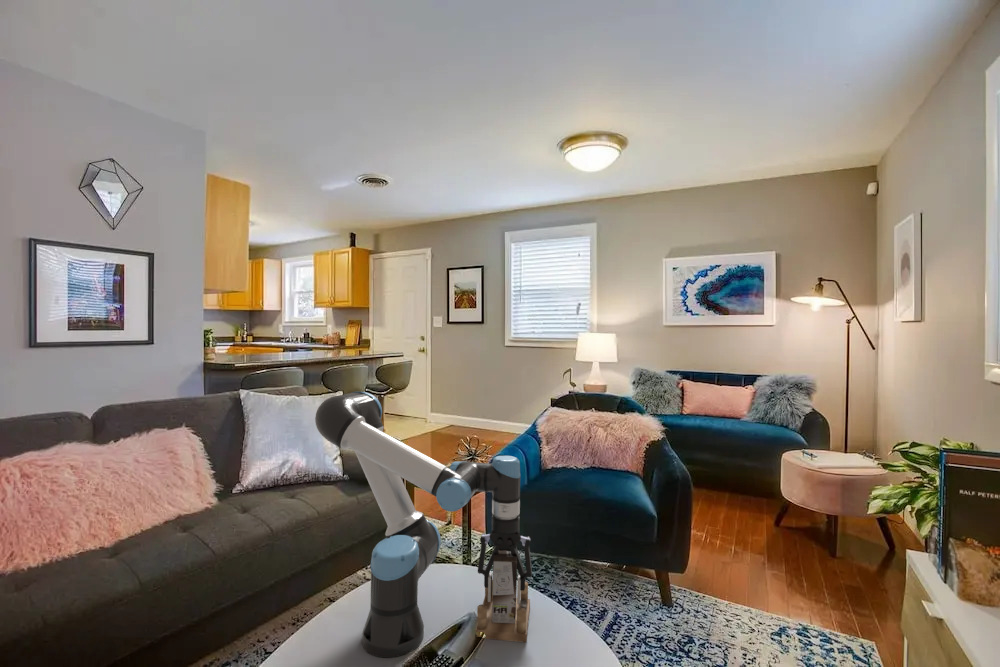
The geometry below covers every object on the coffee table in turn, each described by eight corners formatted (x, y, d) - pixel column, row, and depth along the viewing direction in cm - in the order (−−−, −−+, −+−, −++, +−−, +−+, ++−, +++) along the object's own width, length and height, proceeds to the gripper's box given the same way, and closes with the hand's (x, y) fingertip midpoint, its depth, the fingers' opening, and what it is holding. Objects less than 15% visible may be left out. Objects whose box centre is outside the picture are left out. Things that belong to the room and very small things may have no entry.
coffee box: (516, 624, 120) (517, 561, 120) (491, 623, 120) (492, 561, 120) (515, 604, 129) (517, 546, 129) (492, 603, 129) (494, 545, 129)
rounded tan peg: (527, 607, 126) (528, 591, 126) (519, 607, 127) (519, 590, 127) (527, 597, 131) (528, 581, 131) (519, 597, 132) (519, 581, 132)
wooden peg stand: (475, 637, 117) (475, 609, 117) (484, 602, 133) (485, 578, 133) (526, 642, 116) (526, 614, 116) (529, 606, 131) (530, 581, 132)
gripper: (466, 517, 122) (465, 605, 122) (542, 522, 120) (541, 611, 119) (471, 507, 130) (470, 590, 129) (543, 512, 127) (542, 595, 127)
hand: (504, 600), depth 124 cm, fingers open, 7 cm apart
